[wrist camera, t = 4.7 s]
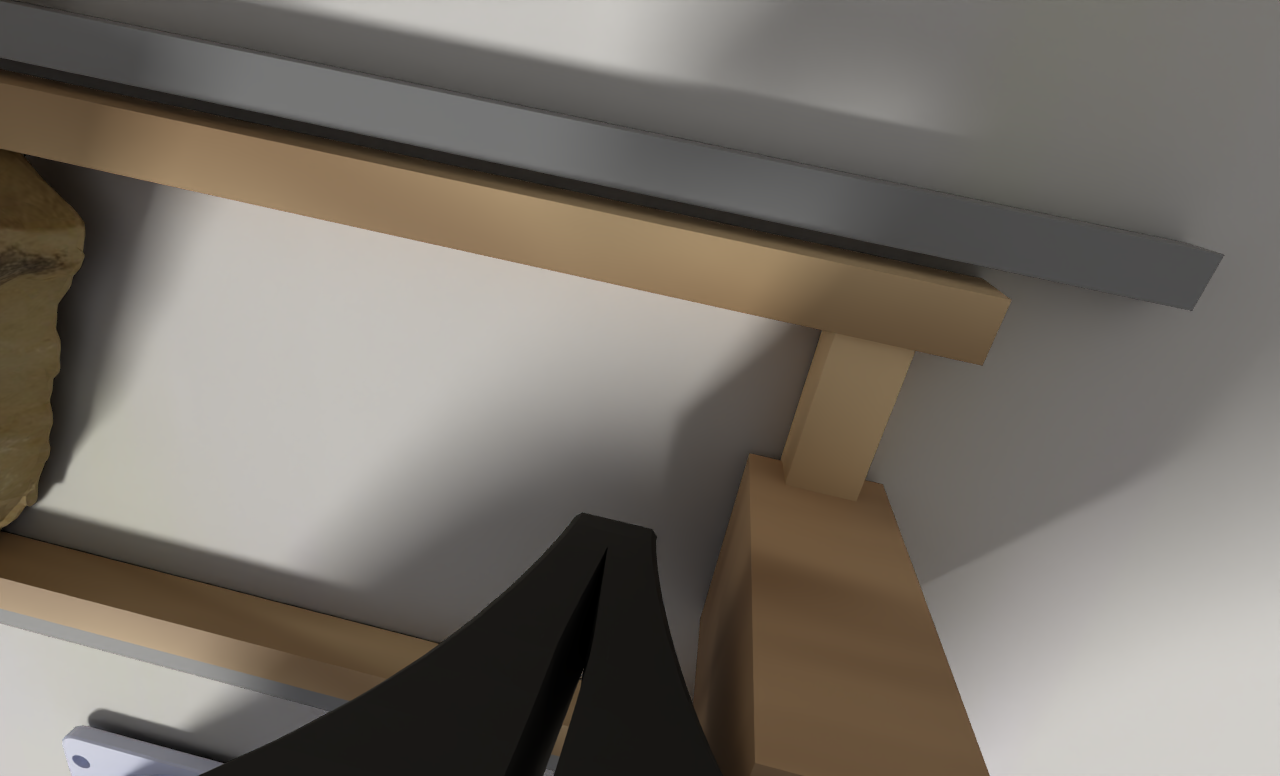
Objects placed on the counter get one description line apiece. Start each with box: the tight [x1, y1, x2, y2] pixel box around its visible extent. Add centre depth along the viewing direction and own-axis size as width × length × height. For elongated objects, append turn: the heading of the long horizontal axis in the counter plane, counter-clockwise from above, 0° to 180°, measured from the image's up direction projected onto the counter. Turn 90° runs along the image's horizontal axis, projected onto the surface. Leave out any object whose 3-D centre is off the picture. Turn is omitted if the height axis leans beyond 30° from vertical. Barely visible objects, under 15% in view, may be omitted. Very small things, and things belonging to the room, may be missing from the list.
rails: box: [0, 0, 1224, 771], centre depth 12 cm, size 20×37×1 cm, turn 80°
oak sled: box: [0, 69, 1011, 776], centre depth 10 cm, size 12×25×6 cm, turn 80°
